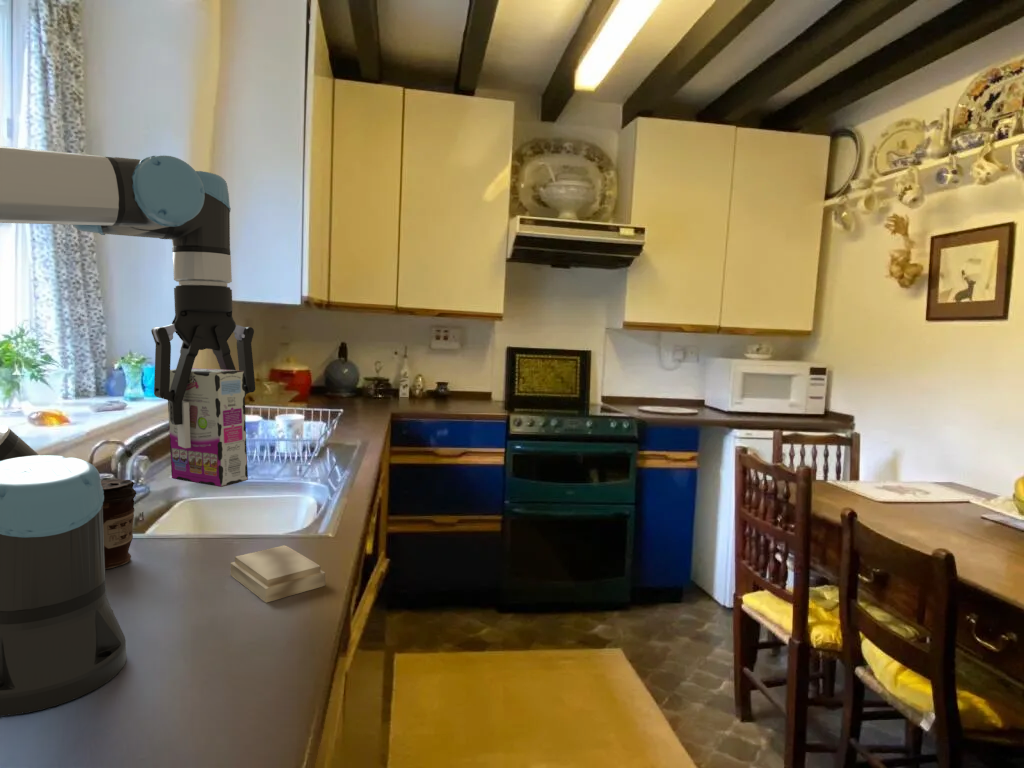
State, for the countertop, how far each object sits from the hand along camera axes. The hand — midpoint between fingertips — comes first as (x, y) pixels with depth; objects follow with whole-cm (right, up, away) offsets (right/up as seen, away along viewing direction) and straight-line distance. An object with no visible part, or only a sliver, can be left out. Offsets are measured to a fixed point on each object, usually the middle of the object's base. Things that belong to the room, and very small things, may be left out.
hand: (208, 443), depth 95 cm
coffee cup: (-20, -20, +8) cm, 30 cm away
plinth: (+9, -21, +3) cm, 23 cm away
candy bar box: (0, -6, +1) cm, 6 cm away
